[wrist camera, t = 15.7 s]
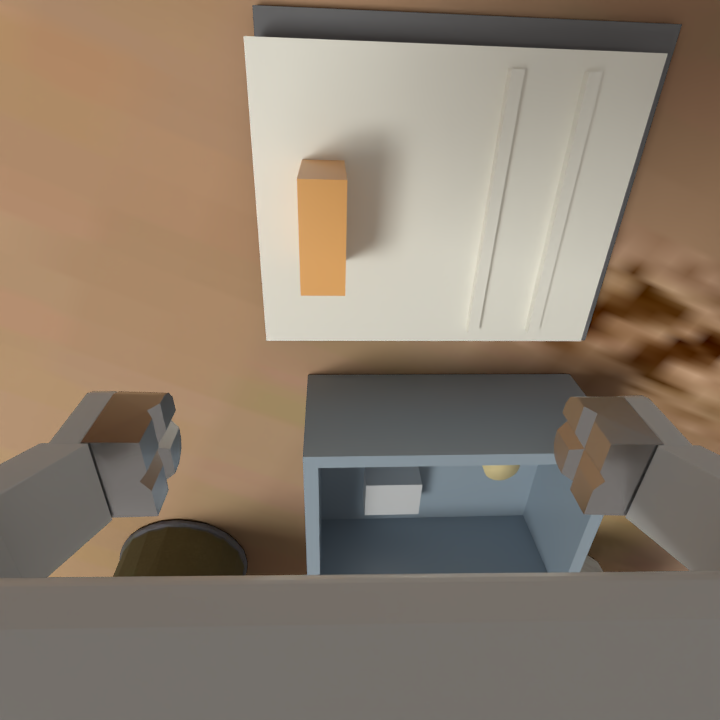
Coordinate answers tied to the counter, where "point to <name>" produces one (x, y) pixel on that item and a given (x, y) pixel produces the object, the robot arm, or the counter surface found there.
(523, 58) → the lid
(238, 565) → the canister
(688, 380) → the counter surface
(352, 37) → the mat
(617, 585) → the robot arm
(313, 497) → the grey storage box
